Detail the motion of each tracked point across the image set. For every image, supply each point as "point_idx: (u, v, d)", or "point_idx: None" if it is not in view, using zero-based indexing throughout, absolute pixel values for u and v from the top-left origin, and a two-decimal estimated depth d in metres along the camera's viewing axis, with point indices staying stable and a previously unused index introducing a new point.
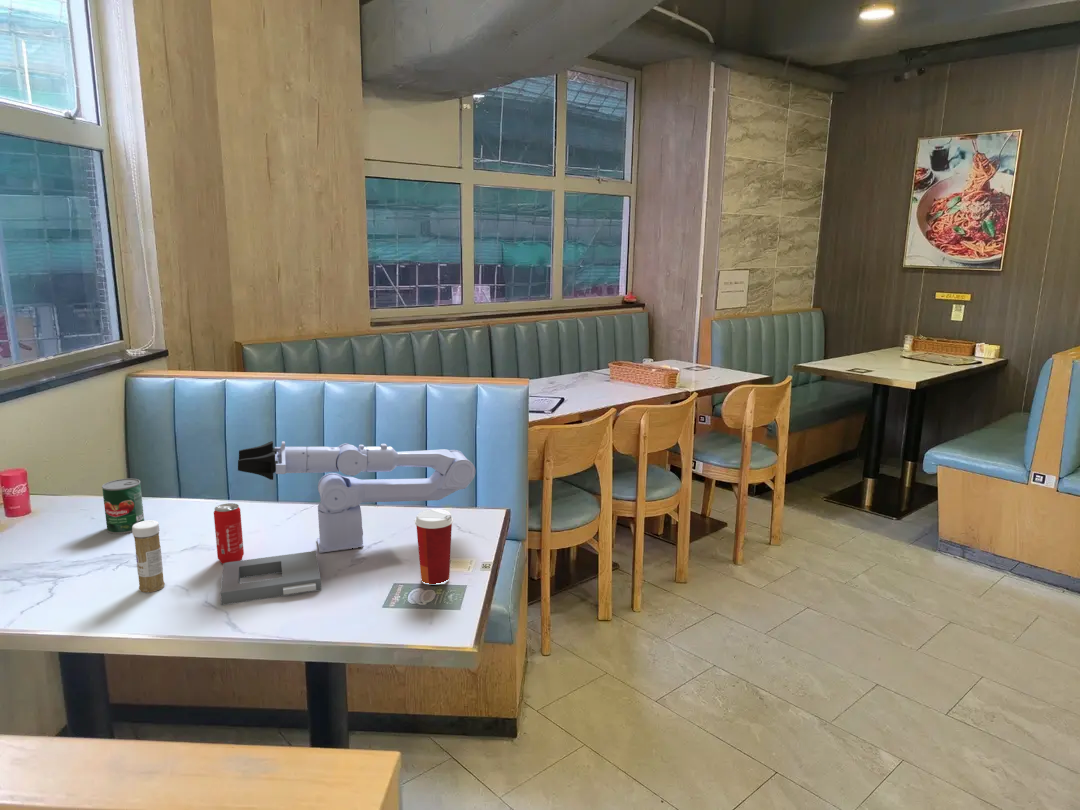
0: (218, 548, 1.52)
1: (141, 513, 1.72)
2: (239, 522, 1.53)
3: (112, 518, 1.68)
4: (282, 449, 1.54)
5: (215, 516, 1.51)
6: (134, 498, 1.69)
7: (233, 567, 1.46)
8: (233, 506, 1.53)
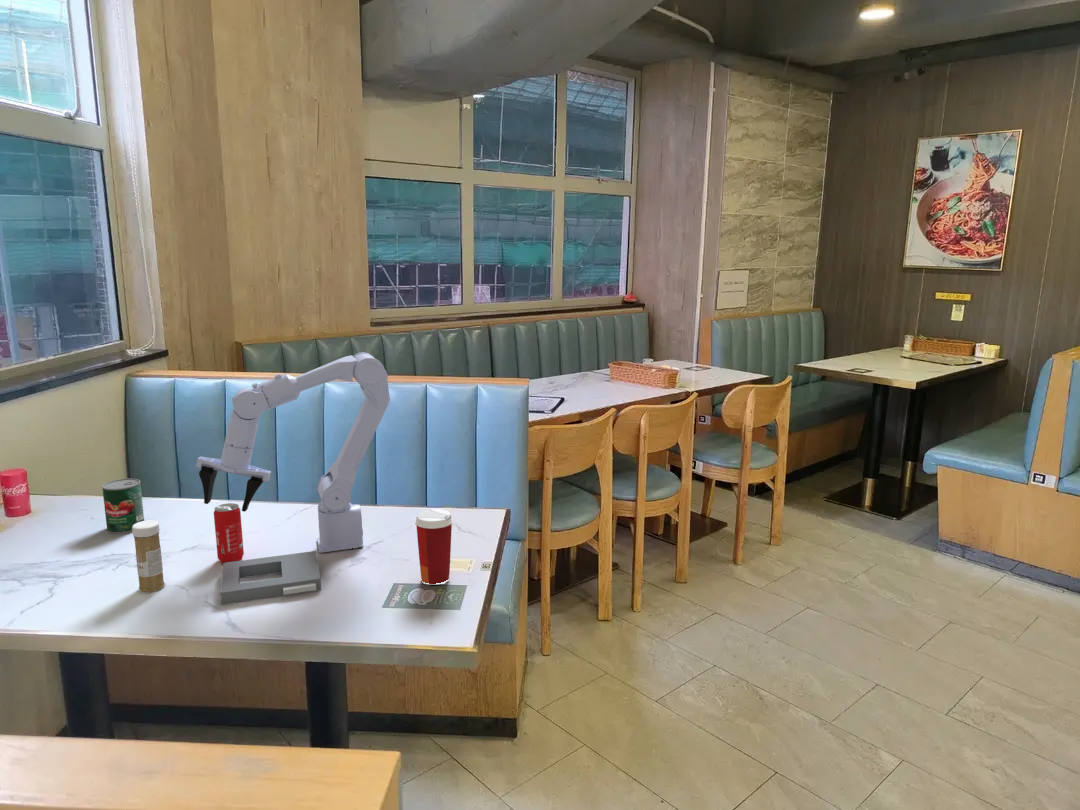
0: (218, 548, 1.52)
1: (141, 513, 1.72)
2: (239, 522, 1.53)
3: (112, 518, 1.68)
4: (238, 471, 1.49)
5: (215, 516, 1.51)
6: (134, 498, 1.69)
7: (233, 567, 1.46)
8: (233, 506, 1.53)
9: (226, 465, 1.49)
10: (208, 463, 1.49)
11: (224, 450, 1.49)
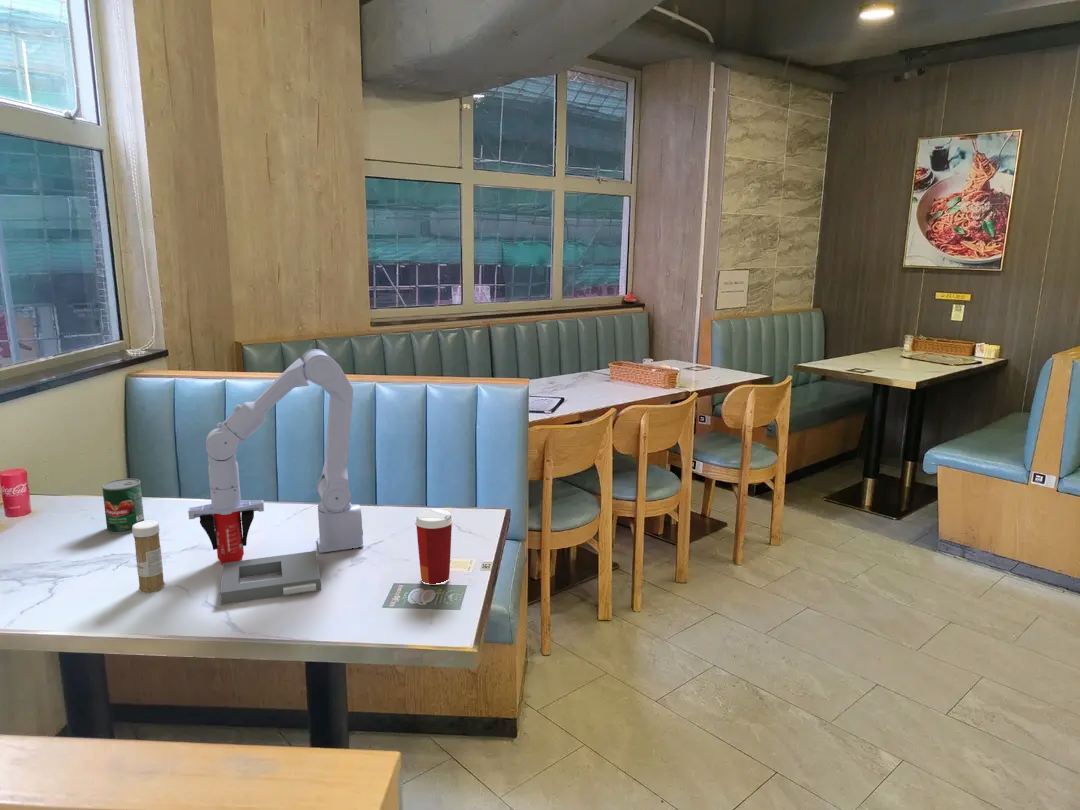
0: (218, 548, 1.52)
1: (141, 513, 1.72)
2: (239, 522, 1.53)
3: (112, 518, 1.68)
4: (234, 511, 1.50)
5: (215, 516, 1.51)
6: (134, 498, 1.69)
7: (233, 567, 1.46)
8: None
9: (220, 508, 1.50)
10: (200, 512, 1.49)
11: (213, 495, 1.49)
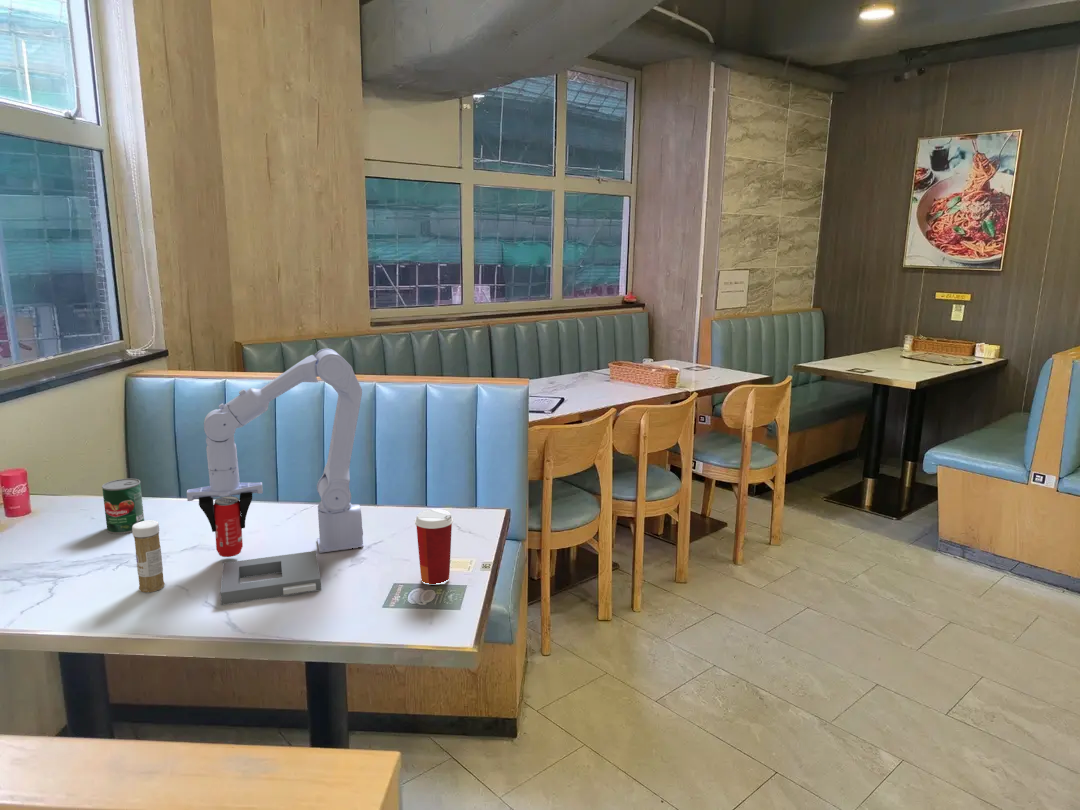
0: (217, 540, 1.52)
1: (141, 513, 1.72)
2: (238, 516, 1.52)
3: (112, 518, 1.68)
4: (232, 492, 1.50)
5: (215, 509, 1.50)
6: (134, 498, 1.69)
7: (233, 567, 1.46)
8: (233, 500, 1.53)
9: (219, 490, 1.49)
10: (199, 493, 1.49)
11: (211, 477, 1.48)
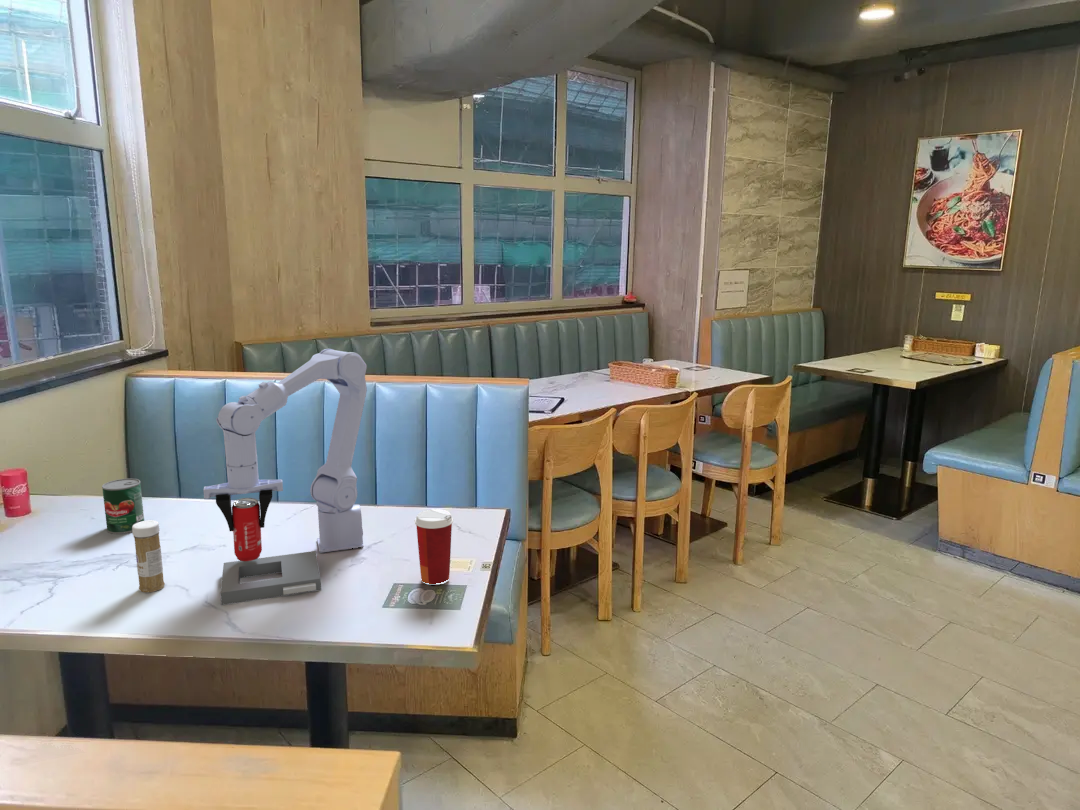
0: (235, 544, 1.45)
1: (141, 513, 1.72)
2: (258, 519, 1.45)
3: (112, 518, 1.68)
4: (251, 490, 1.42)
5: (233, 512, 1.43)
6: (134, 498, 1.69)
7: (233, 567, 1.46)
8: (252, 502, 1.45)
9: (237, 487, 1.41)
10: (216, 491, 1.41)
11: (230, 473, 1.41)
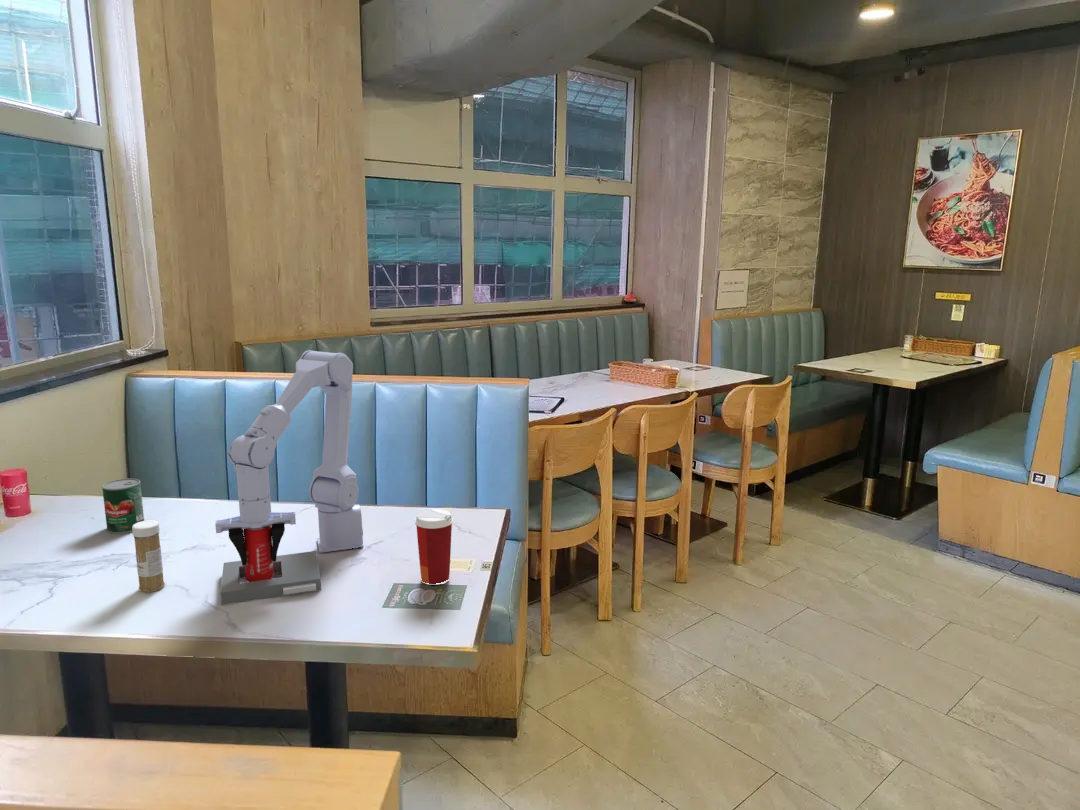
0: (247, 568, 1.43)
1: (141, 513, 1.72)
2: (270, 541, 1.43)
3: (112, 518, 1.68)
4: (264, 524, 1.39)
5: (245, 534, 1.41)
6: (134, 498, 1.69)
7: (233, 567, 1.46)
8: None
9: (250, 521, 1.38)
10: (228, 525, 1.38)
11: (242, 507, 1.38)
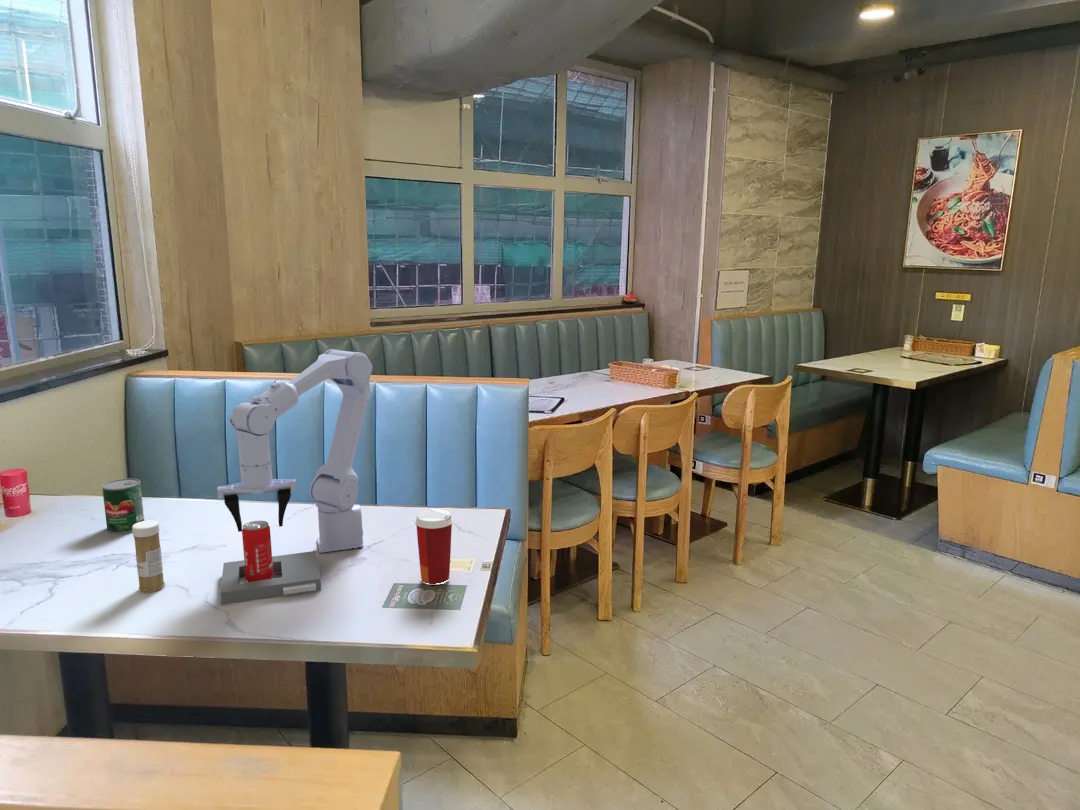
0: (246, 569, 1.43)
1: (141, 513, 1.72)
2: (269, 541, 1.43)
3: (112, 518, 1.68)
4: (265, 489, 1.42)
5: (244, 535, 1.41)
6: (134, 498, 1.69)
7: (233, 567, 1.46)
8: (262, 524, 1.44)
9: (251, 487, 1.41)
10: (230, 491, 1.41)
11: (243, 473, 1.41)
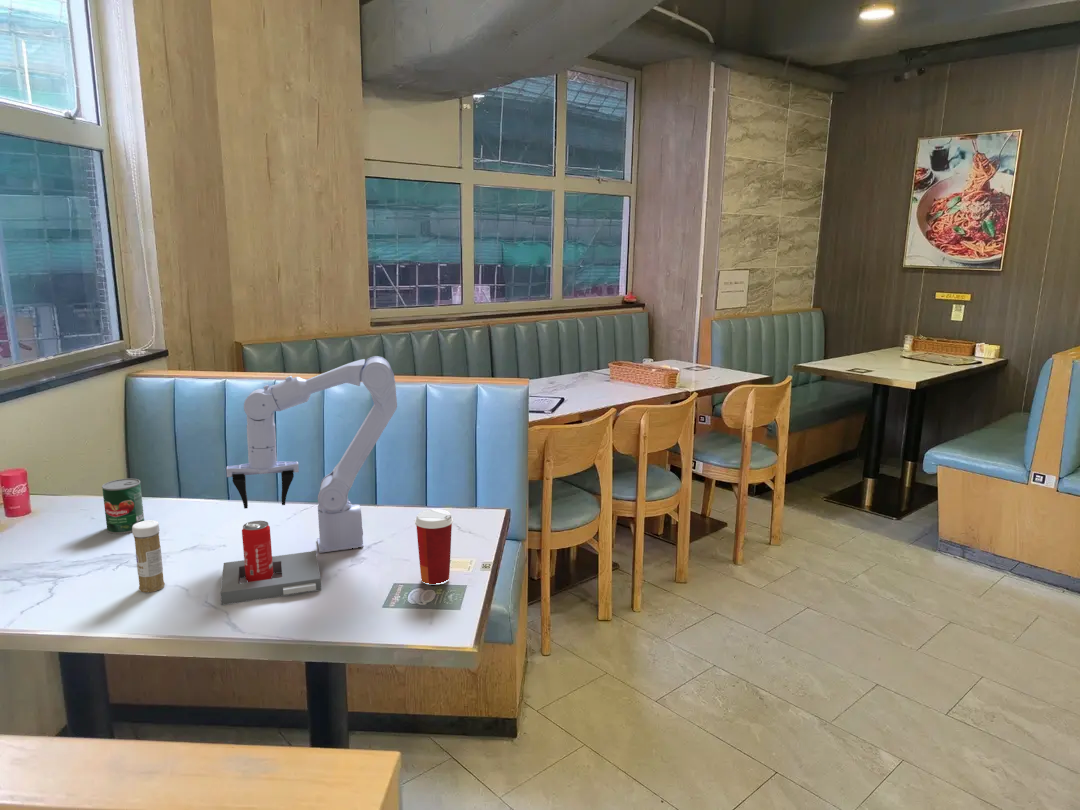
0: (246, 569, 1.43)
1: (141, 513, 1.72)
2: (269, 541, 1.43)
3: (112, 518, 1.68)
4: (270, 470, 1.54)
5: (243, 535, 1.41)
6: (134, 498, 1.69)
7: (233, 567, 1.46)
8: (262, 524, 1.44)
9: (257, 467, 1.53)
10: (238, 470, 1.53)
11: (251, 454, 1.53)
